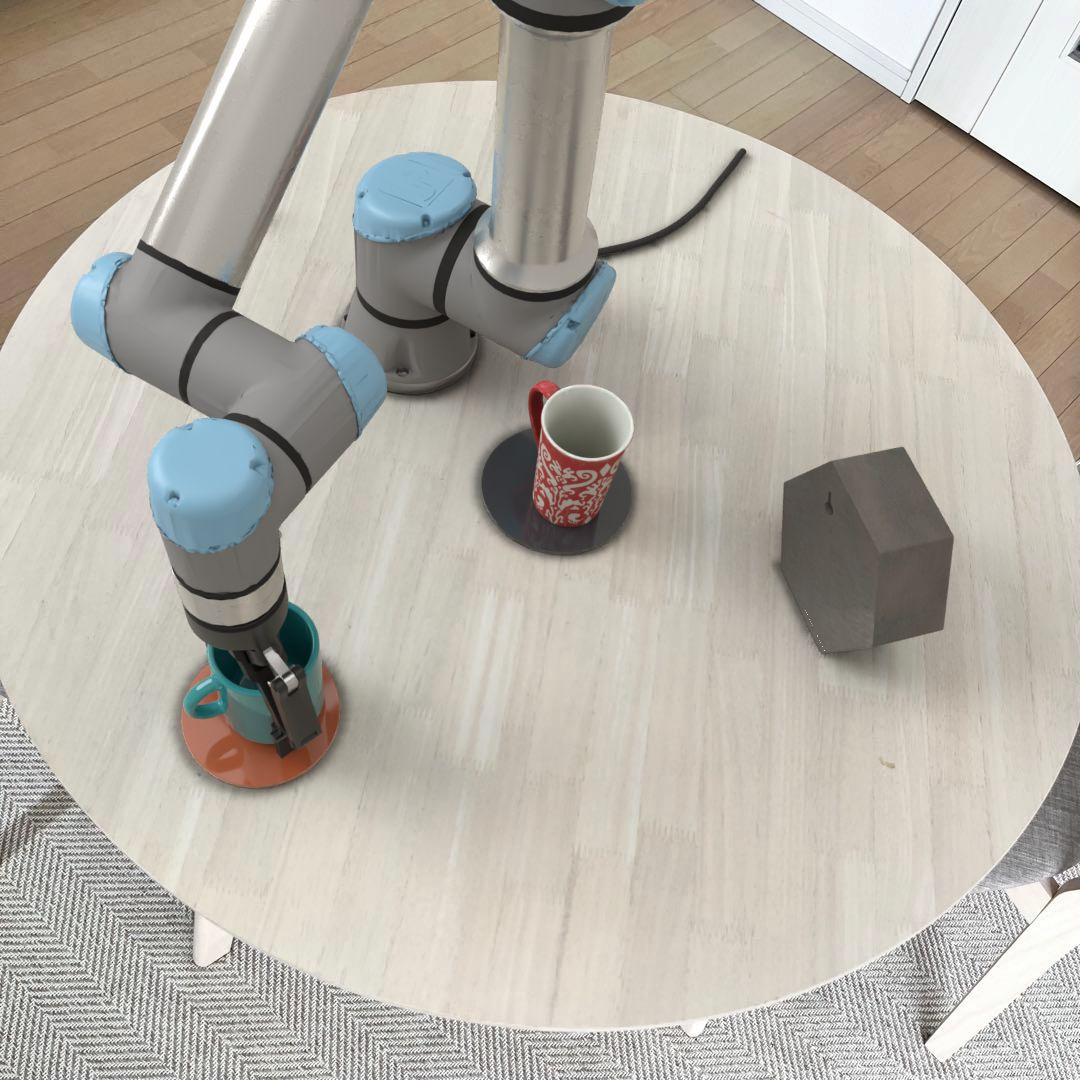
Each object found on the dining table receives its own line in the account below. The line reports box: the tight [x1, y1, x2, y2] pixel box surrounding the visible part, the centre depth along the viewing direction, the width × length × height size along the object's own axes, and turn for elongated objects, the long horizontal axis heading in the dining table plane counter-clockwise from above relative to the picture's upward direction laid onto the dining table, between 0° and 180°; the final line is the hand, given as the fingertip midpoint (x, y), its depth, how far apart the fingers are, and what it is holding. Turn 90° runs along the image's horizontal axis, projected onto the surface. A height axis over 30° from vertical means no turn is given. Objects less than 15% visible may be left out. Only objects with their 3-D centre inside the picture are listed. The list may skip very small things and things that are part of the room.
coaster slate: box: [480, 427, 633, 556], centre depth 119 cm, size 16×16×1 cm
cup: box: [182, 600, 324, 744], centre depth 97 cm, size 9×12×11 cm
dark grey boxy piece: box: [780, 446, 955, 654], centre depth 109 cm, size 17×8×21 cm
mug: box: [527, 379, 636, 527], centre depth 113 cm, size 13×9×14 cm
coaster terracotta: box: [180, 663, 341, 789], centre depth 102 cm, size 14×14×1 cm
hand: (260, 706), depth 101 cm, fingers closed on cup, 9 cm apart
